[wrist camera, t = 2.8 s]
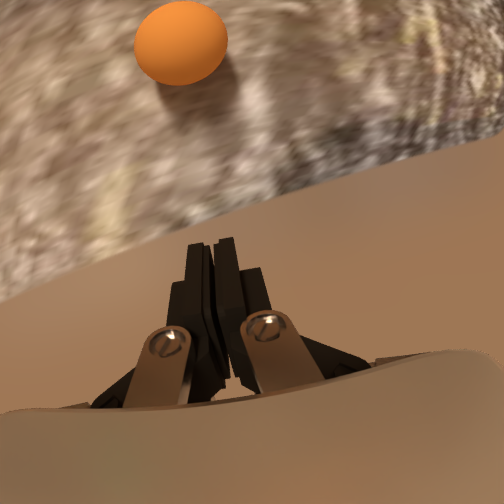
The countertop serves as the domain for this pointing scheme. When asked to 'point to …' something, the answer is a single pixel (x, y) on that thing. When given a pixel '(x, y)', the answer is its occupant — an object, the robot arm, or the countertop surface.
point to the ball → (180, 43)
